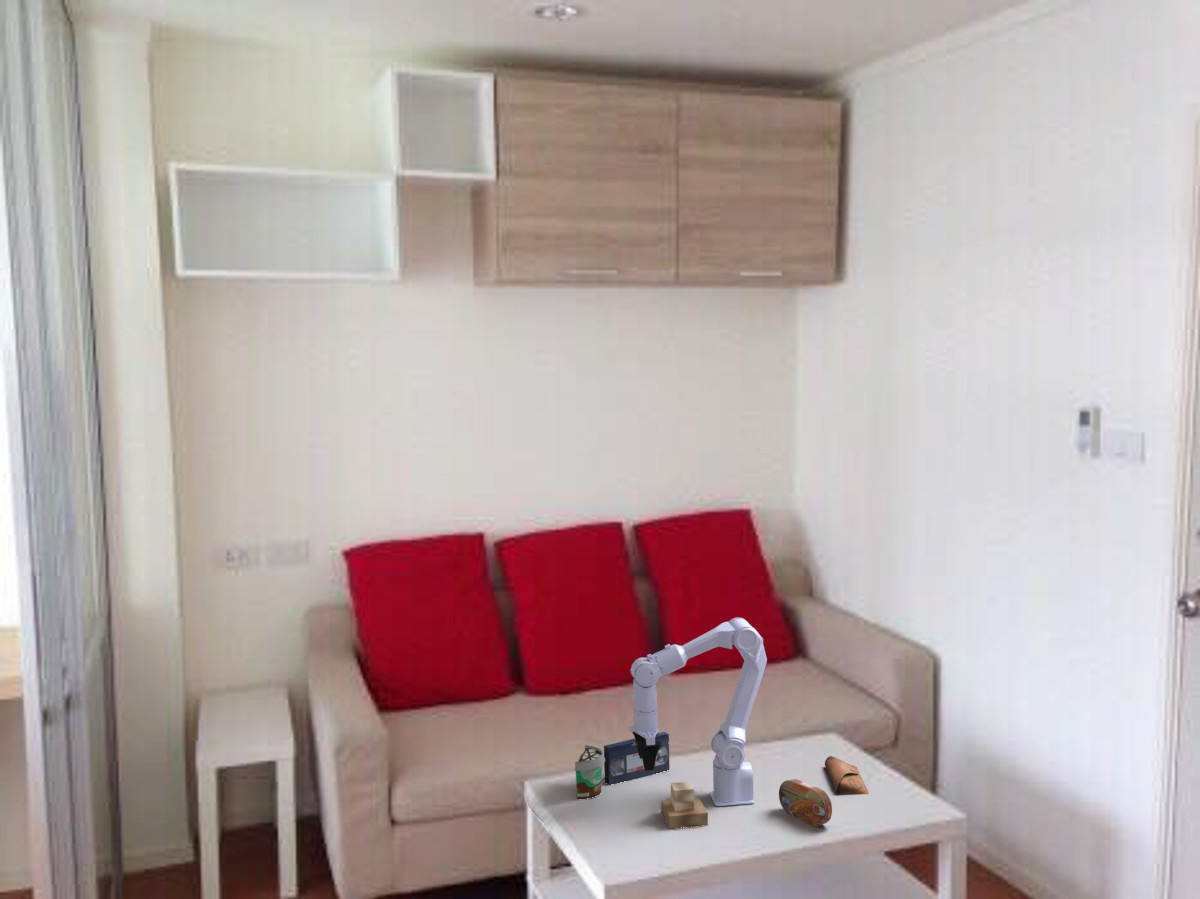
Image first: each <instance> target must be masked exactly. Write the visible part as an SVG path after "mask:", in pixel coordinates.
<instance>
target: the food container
mask: <svg viewBox="0 0 1200 899" xmlns="http://www.w3.org/2000/svg"><path fill="white" fill-rule="evenodd" d="M604 763H605V758H604V751H603V750H602V749H601V748H600V747H597V746H594V745H588V744H586V745H584V751H583V752H582V753H581V754H580V756H579V759H578V761H575V764H574V770H575V771H574V772H575V783H576V784H575V785H576V786H575V787H576V798H577V799H585V800H588V799H587V798H591V799H593V798H592V797H595V796H597V795H599V794H600V793H601V794H602V783H603V766H604ZM601 794H600V795H601ZM600 795H599V796H600ZM597 797H598V796H597ZM595 798H596V797H595Z"/></svg>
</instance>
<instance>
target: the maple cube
mask: <svg viewBox="0 0 1200 899" xmlns="http://www.w3.org/2000/svg"><path fill="white" fill-rule="evenodd" d="M694 798H695V789H694V787H693V785H692V783H691V782H690V781H681V782H680V781H679V782H670V800H671V804H672V806H673V808H674V810H675V812H676V811H687V810H694Z"/></svg>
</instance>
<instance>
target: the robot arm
mask: <svg viewBox="0 0 1200 899" xmlns="http://www.w3.org/2000/svg"><path fill="white" fill-rule="evenodd" d="M733 645H734V647H735V648H736V649H737V650H738V652H739V653H740V655H741V657H742V659H743V660H744V661H743V663H742V668H741V671H740V674H739V677H738V679H737V683H736V685H735V689H734V693H733V695H732V698H731V700H730V701H731V702H730V704H729V708H728V710H727V714H726V718H725V720H724V721H723V722H722V723H721V724H720V725H719V728H718V730H717V732H716V733H715V734H714V735H713V737H712V738H711V741H710V746H711V750H712V752H714V753H715V756H714V758H713V760H712V770H713V771H712V776H713V777H712V782H713V786H712V787H713V788H712V789H713V790H711V791H709V792H708V794H709V796H710V798H711V800H712V802H713V803H714V805H715V806H716V807H722V806H723V807H725V806H726V807H727V806H738V805H751V804H755V800H754V774H753V768H752V767H753V766H752V765H751V762H749V761H744V760H745V757H746V756H745V755H746V754H745V745H746V729H747V726H748V722H749V720H750V719H749V718H750V715H751V713H752V710H753V706H754V703H755V700H756V697H757V694H758V691H759V688H760V685H761V681H762V680H763V679H762V678H763V676H764V673H765V669H766V666H767V662H768V658H767V655H766V654H767V653H766V650H765V646H764V638H763V637H762V636H761V635H760V633H759V632H758V631H757V630H756V628H755V627H753V626H752V625H751V624H750V623H749V622H748V621H747V620H746V619H744V618H743V617H734V618H732V619H730V620H729V621H725V622H722V623H720V624H719V625H717V626H716V627H715V628H712V629H711V630H709V631H707V632H705V633H703V634H702V635H699V636H698V637H696V638H694V639H692V640H690V641H689V642H687V643H684V644H683V645H678V644H675V643H673V644H671V645H670V643H668V644H666V645H664V648H663V649H662V650H659V651H656V652H655V653H653V654H651V653H649V654H647V655H646V657H639V658H637V659H635V660H634V661H633V663H632V664H631V668H630V670H629V671H630V674H631V676H632V677H633V678H634V679H633V684H632V688H633V690H632V702H633V706H632V709H633V725H630V726H628V731H629V732H631V733H632V735H633V737H634V739H635V740H636V744H637V749H638V754H639V757H640V759H643V765H644V769H645V771H647V770H654V766H655V761H656V756H657V753H658V751H659V749H660V747H661V742H660V741H655V736H656V734H657V733H659V729H660V728H659V725H658V690H657V683H658V681H659V679H660V678H663V677H665V676H667V675H669V674H671V673H673V672H675V671H677V670H680V669H681V668H684V667H685V666H686V665H687V661H688V660H689V659H692V658H694V657H696V656H698V655H701V654H702V653H706V652H707V651H711V650H713V649H715V648H719V647H721V648H723V649H724V648H725V649H729V650H733Z"/></svg>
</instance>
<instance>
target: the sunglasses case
mask: <svg viewBox="0 0 1200 899" xmlns="http://www.w3.org/2000/svg"><path fill="white" fill-rule="evenodd" d="M824 767H825V769H826V771H827V774H828V776H829V778H830V780H831V782H832V784H833V787H834V790H835V792H836V793H837V794H838V796H853V795H855V796H856V795H857V796H858V795H859V796H860V795H869V794H870V792H869V791H868V789H867V786H866V784H865V782H864V781H863V779H862V776H861V774H860V772H859V770H858V767H857V766H856V765H853V764H850V763H846V762H845V761H844V760H842V759H840V758H837V757H835V756H832V755H829V756H828V757H826V759H825V761H824Z"/></svg>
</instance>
